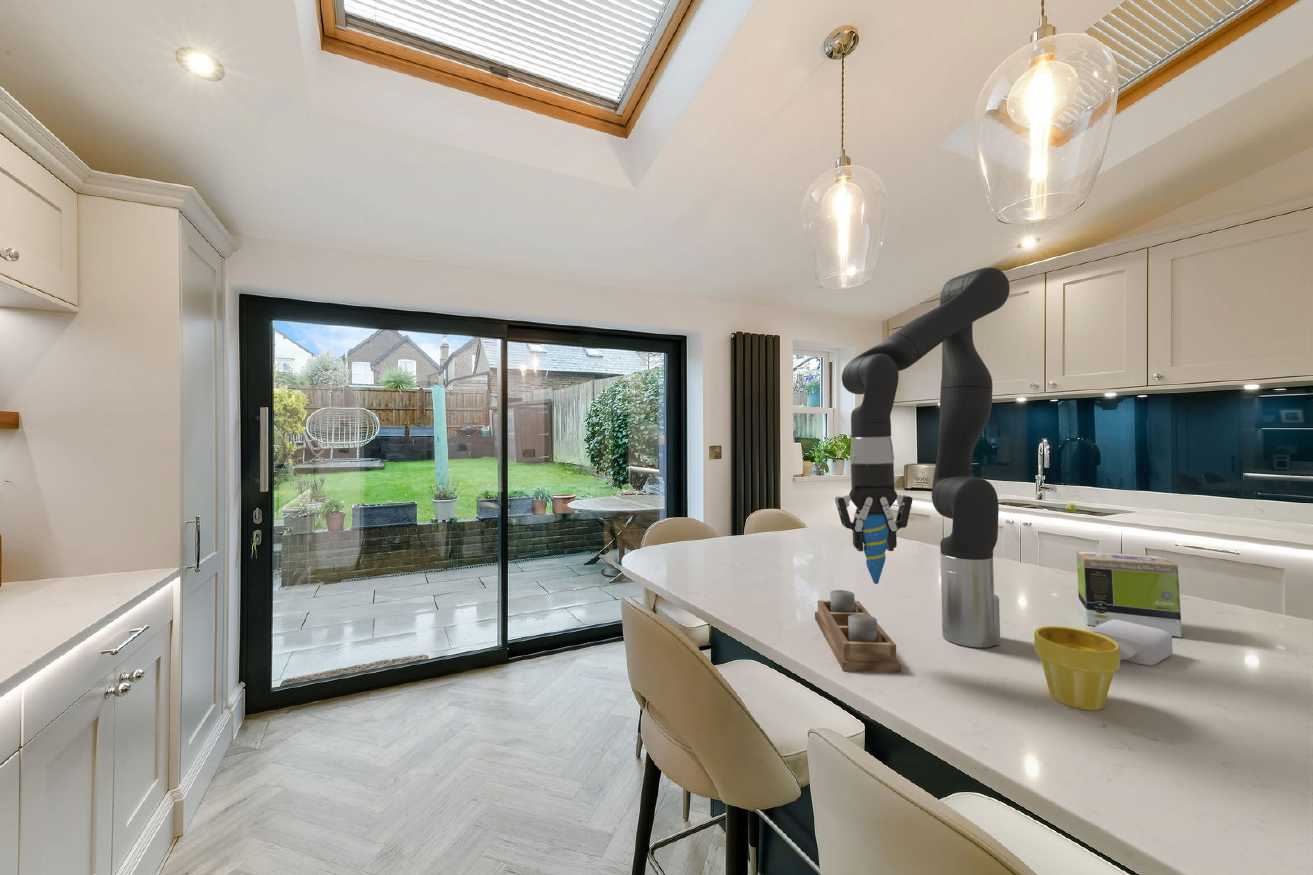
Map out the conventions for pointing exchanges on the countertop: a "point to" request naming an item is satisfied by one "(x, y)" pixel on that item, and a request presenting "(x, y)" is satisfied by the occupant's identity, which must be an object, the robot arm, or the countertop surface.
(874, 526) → the ornament
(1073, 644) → the plant pot
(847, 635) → the wooden compartment tray
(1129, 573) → the tea box
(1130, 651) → the charger
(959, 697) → the countertop surface
